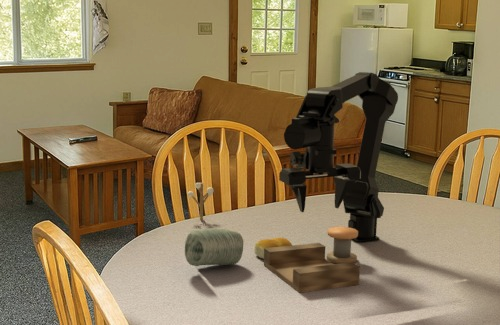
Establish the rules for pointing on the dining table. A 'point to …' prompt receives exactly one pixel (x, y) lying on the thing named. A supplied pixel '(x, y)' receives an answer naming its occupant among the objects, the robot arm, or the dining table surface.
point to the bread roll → (270, 245)
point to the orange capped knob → (342, 245)
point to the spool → (213, 247)
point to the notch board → (309, 268)
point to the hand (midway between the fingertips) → (319, 209)
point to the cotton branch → (201, 196)
